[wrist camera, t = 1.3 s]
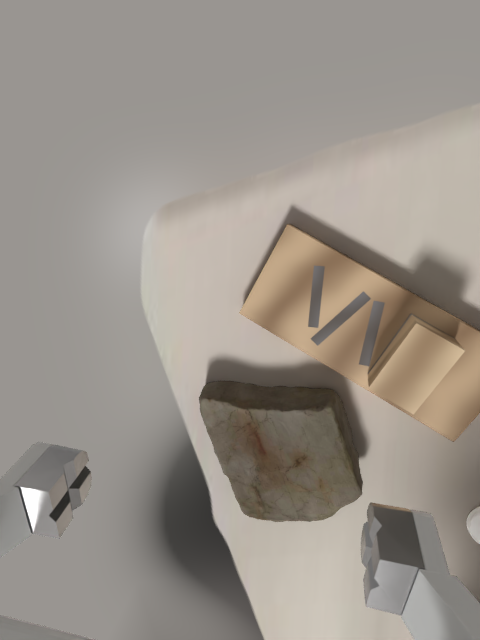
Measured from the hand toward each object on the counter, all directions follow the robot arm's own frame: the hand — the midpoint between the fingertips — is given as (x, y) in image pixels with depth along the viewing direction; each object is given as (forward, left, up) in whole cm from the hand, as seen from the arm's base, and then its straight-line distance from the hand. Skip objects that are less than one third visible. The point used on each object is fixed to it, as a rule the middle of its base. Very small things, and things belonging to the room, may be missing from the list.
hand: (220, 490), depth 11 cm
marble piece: (-5, +16, -31) cm, 35 cm away
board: (-6, 0, -30) cm, 31 cm away
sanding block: (-10, 0, -29) cm, 30 cm away
